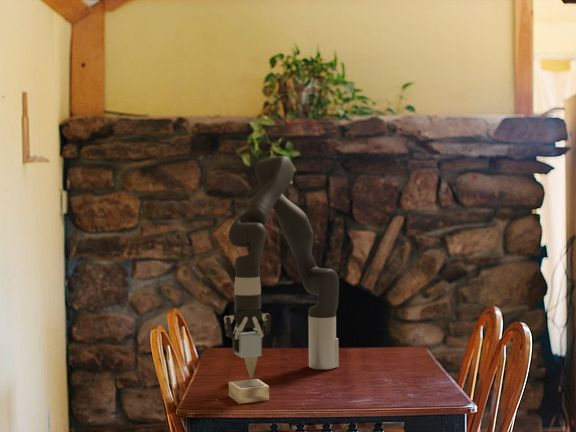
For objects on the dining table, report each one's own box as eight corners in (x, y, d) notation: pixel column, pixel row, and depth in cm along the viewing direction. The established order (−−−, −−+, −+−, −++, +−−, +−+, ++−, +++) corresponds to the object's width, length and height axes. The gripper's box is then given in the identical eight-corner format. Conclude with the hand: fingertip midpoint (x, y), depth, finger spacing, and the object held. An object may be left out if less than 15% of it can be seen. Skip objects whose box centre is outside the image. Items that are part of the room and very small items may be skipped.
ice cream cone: (261, 378, 243) (261, 331, 243) (255, 382, 239) (255, 334, 238) (246, 377, 245) (246, 330, 245) (240, 381, 240) (240, 333, 240)
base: (258, 392, 226) (257, 378, 226) (269, 400, 218) (269, 385, 218) (228, 395, 223) (228, 381, 223) (239, 403, 214) (238, 388, 214)
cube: (254, 352, 224) (254, 331, 224) (261, 356, 218) (261, 335, 218) (234, 353, 222) (234, 333, 222) (241, 357, 216) (241, 336, 216)
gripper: (266, 289, 226) (266, 346, 226) (219, 292, 220) (219, 350, 221) (275, 292, 219) (276, 351, 219) (227, 295, 213) (227, 355, 214)
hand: (247, 350), depth 220 cm, fingers closed on cube, 6 cm apart
